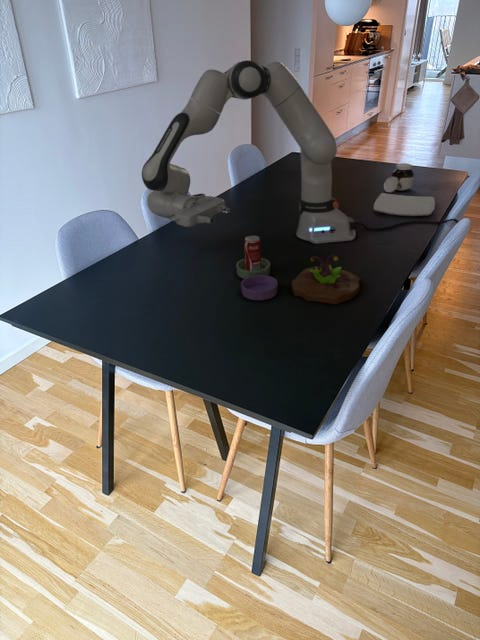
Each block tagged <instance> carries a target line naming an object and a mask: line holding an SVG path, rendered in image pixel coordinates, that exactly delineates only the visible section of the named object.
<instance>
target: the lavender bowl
mask: <svg viewBox="0 0 480 640" xmlns="http://www.w3.org/2000/svg"><path fill="white" fill-rule="evenodd" d="M240 292H241V295H242V296H243V297H244V298H246V299H247V300H250V301H251V300H252V301H265V300H269V299H272V298H274V297H275V296H276V295H277V294H278V280H277V279H276V278H274V277H273V276H270V275H268V276H266V275H254V276H250V277H247V278H245V279H242V281H241V282H240Z"/></svg>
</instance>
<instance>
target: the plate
mask: <svg viewBox="0 0 480 640" xmlns="http://www.w3.org/2000/svg"><path fill="white" fill-rule="evenodd" d="M374 201H375V202H374V204H373V211H375V212H376V213H382V214H387V215H391V216H398V217H428V216H430V215H432V213H433V212H434V211H435V208H436V202H435V197H434V196H415V195H402V194H392V193H384V192H381V193H380V194H379V195H378V197H377V198H376V200H374Z"/></svg>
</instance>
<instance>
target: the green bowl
mask: <svg viewBox="0 0 480 640" xmlns="http://www.w3.org/2000/svg"><path fill="white" fill-rule="evenodd" d="M235 268H236V275H237V276H238V277H239V278H241V279H242V280H244V279H245V278H247V277H250V276H254V275H266V276H270V273H271V262H270V261H269V260H268V259H266V258H264V257H261V270H258V271H247V270H245V257H244V258H242V259H240V260H238V261H237V262H236V265H235Z"/></svg>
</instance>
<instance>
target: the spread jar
mask: <svg viewBox="0 0 480 640" xmlns="http://www.w3.org/2000/svg"><path fill="white" fill-rule="evenodd" d="M412 167H413V165H412V164H410V163H405V162H404V163H403V162H401V163H397V164H396V166H395V169H394V170H393V171H392V173H391V175H390V176H389V177H388V178H386V179H385V181H384V184H383V189H384V191H385V192H386V193H388V194H392V193H394V192H396V193H406V192H409V191H410V190H411V189H412V187H413V185H414V181H415V173H414V171H413V170H412Z"/></svg>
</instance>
